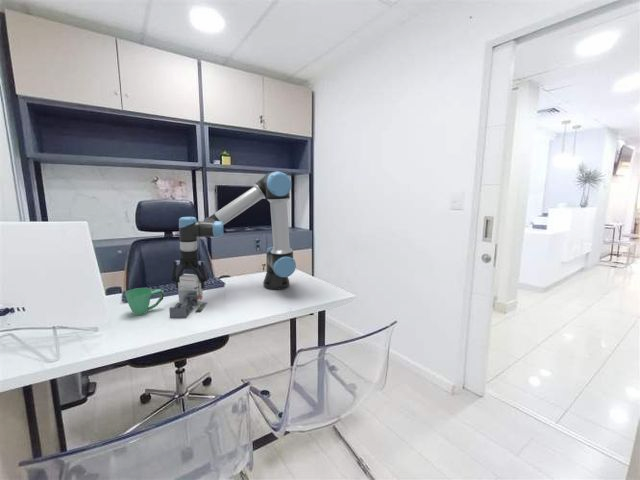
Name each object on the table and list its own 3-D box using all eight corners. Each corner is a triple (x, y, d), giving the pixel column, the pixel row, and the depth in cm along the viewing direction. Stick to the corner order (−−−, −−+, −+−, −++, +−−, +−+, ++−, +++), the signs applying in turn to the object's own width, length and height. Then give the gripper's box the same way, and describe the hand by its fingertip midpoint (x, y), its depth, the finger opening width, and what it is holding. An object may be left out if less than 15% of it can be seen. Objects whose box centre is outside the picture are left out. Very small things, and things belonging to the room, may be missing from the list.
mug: (128, 319, 125) (126, 297, 123) (126, 311, 133) (124, 290, 131) (166, 312, 134) (165, 291, 132) (162, 304, 142) (161, 284, 140)
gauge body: (207, 302, 145) (207, 294, 145) (196, 318, 129) (196, 308, 128) (183, 302, 144) (183, 294, 144) (169, 318, 128) (169, 308, 127)
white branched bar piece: (204, 304, 143) (203, 290, 141) (198, 311, 135) (198, 297, 133) (180, 304, 142) (179, 290, 140) (173, 311, 134) (172, 297, 132)
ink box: (202, 297, 147) (201, 274, 145) (196, 301, 142) (195, 277, 140) (185, 296, 148) (184, 273, 146) (179, 299, 143) (178, 276, 141)
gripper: (214, 248, 145) (215, 292, 149) (168, 247, 143) (170, 291, 147) (210, 251, 138) (211, 297, 142) (161, 251, 136) (164, 297, 140)
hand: (190, 294), depth 144 cm, fingers closed on ink box, 9 cm apart
